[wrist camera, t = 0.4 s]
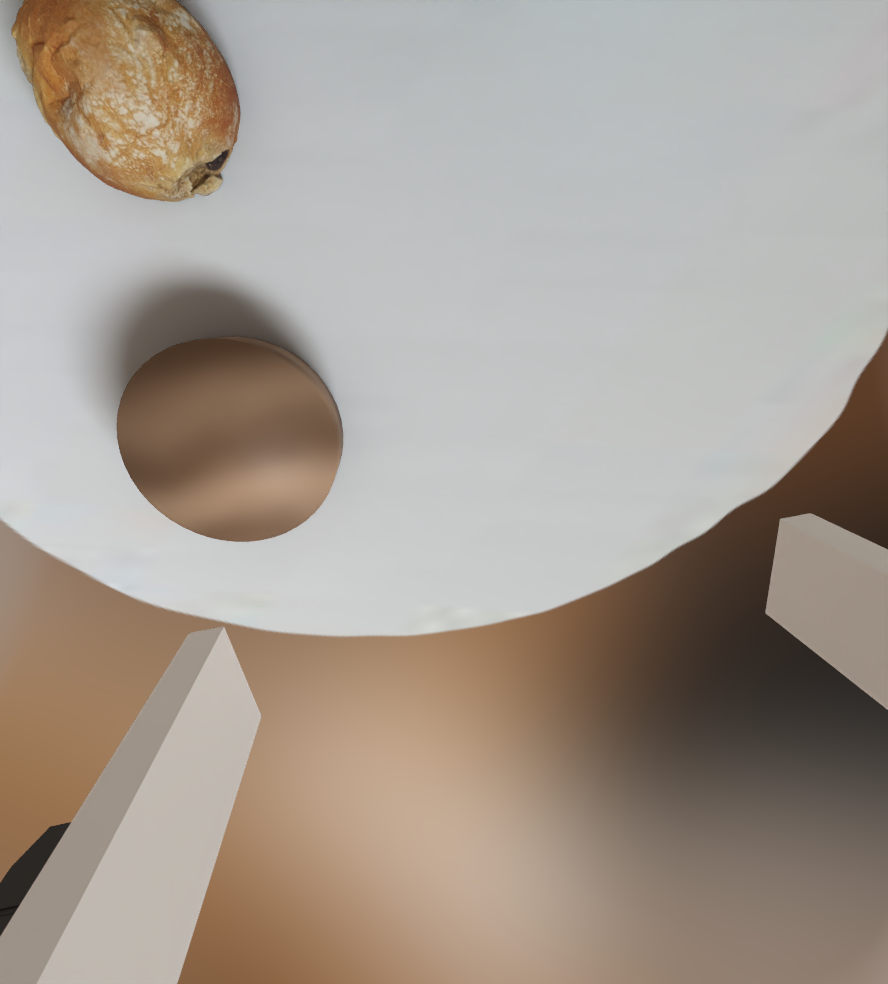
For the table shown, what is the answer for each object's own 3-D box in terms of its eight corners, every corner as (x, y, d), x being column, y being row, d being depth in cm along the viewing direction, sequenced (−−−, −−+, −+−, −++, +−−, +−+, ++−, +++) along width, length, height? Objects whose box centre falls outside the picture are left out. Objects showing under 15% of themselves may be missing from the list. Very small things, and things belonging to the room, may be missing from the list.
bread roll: (186, 232, 32) (190, 252, 26) (-6, 97, 25) (-56, 85, 19) (259, 100, 30) (281, 92, 24) (71, -87, 23) (40, -161, 17)
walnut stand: (115, 352, 31) (78, 356, 27) (319, 322, 32) (310, 323, 28) (186, 532, 36) (163, 556, 32) (359, 503, 37) (356, 523, 33)
